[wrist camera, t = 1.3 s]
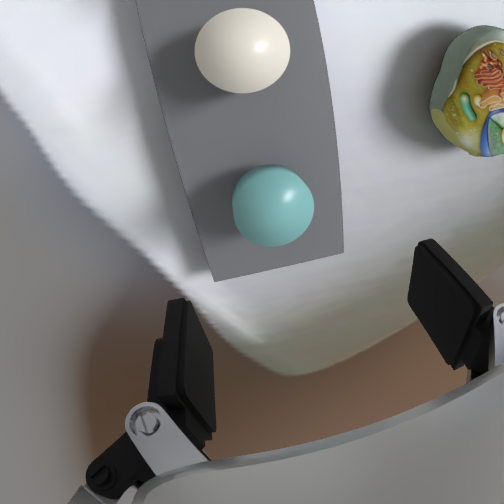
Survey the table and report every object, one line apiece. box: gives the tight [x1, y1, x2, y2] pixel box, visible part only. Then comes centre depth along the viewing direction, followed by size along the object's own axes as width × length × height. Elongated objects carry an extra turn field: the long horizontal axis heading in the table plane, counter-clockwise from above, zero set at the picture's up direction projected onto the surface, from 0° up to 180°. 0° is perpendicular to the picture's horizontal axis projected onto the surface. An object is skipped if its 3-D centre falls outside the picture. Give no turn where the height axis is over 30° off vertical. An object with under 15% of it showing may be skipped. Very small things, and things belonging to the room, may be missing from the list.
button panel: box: [136, 0, 344, 282], centre depth 15 cm, size 30×10×2 cm, turn 11°
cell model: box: [429, 25, 504, 157], centre depth 15 cm, size 11×8×15 cm
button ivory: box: [195, 8, 290, 93], centre depth 13 cm, size 5×5×2 cm
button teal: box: [232, 164, 314, 247], centre depth 18 cm, size 5×5×2 cm
